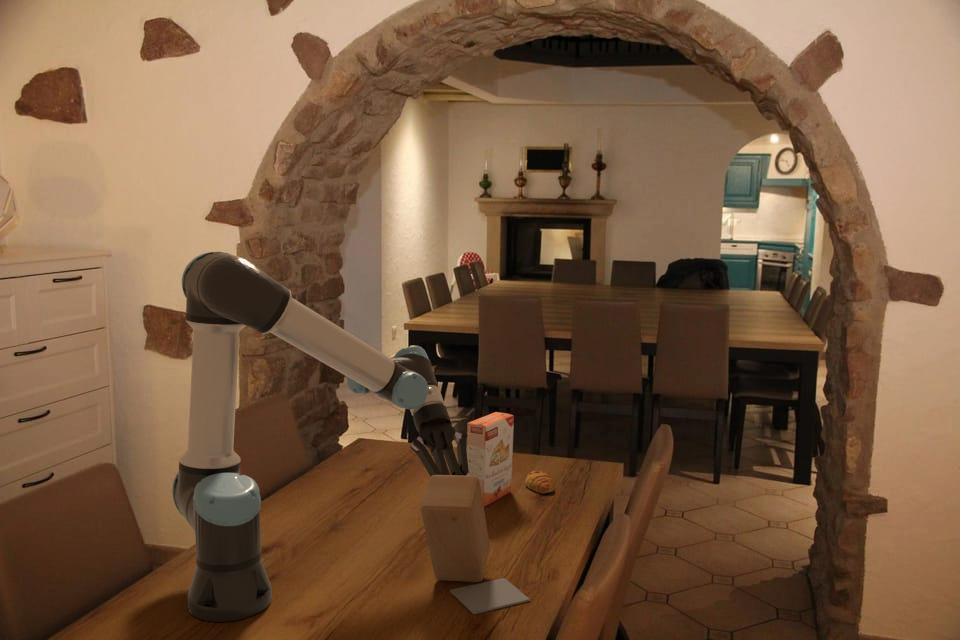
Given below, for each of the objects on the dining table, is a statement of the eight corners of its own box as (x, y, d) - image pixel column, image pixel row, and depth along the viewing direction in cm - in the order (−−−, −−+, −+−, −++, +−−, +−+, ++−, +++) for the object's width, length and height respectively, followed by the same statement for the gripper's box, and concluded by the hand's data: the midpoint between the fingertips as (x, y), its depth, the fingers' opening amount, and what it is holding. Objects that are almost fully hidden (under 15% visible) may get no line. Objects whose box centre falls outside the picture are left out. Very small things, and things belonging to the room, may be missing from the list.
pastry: (560, 493, 221) (560, 479, 220) (536, 496, 218) (537, 482, 218) (545, 482, 229) (545, 468, 229) (522, 484, 227) (522, 471, 226)
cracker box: (484, 508, 209) (486, 426, 206) (464, 503, 212) (465, 422, 209) (513, 492, 220) (515, 414, 217) (493, 487, 224) (494, 410, 220)
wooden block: (483, 584, 167) (471, 511, 157) (434, 582, 169) (418, 509, 159) (491, 546, 175) (479, 473, 165) (444, 544, 177) (430, 472, 167)
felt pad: (473, 614, 156) (473, 612, 156) (450, 591, 165) (450, 589, 165) (529, 601, 162) (529, 599, 162) (504, 579, 171) (504, 577, 171)
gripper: (405, 404, 179) (439, 506, 167) (461, 398, 185) (497, 496, 173) (396, 423, 184) (427, 523, 172) (450, 416, 190) (484, 512, 178)
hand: (462, 509), depth 172 cm, fingers closed
